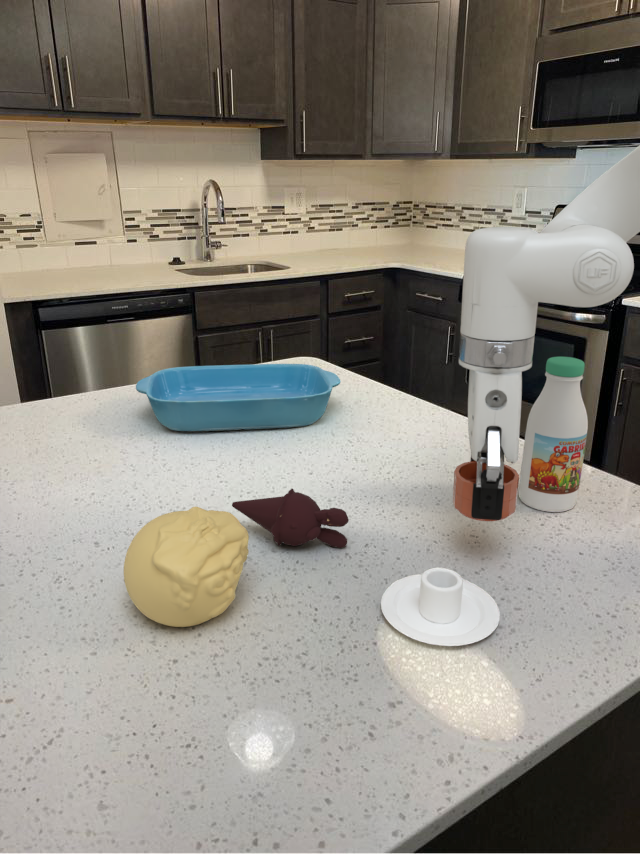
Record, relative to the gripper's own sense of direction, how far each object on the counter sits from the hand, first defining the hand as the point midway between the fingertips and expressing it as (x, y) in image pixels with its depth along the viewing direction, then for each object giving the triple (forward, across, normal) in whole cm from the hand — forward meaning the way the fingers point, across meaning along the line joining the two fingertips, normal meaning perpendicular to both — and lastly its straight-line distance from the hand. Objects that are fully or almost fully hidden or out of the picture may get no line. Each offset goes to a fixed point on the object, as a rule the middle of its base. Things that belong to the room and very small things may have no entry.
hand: (484, 500), depth 76 cm
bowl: (+1, 0, 0) cm, 1 cm away
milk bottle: (+8, +16, -10) cm, 20 cm away
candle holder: (+7, -12, +5) cm, 15 cm away
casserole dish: (+7, +42, +42) cm, 59 cm away
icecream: (+7, -1, +23) cm, 24 cm away
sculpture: (+7, -16, +30) cm, 35 cm away
